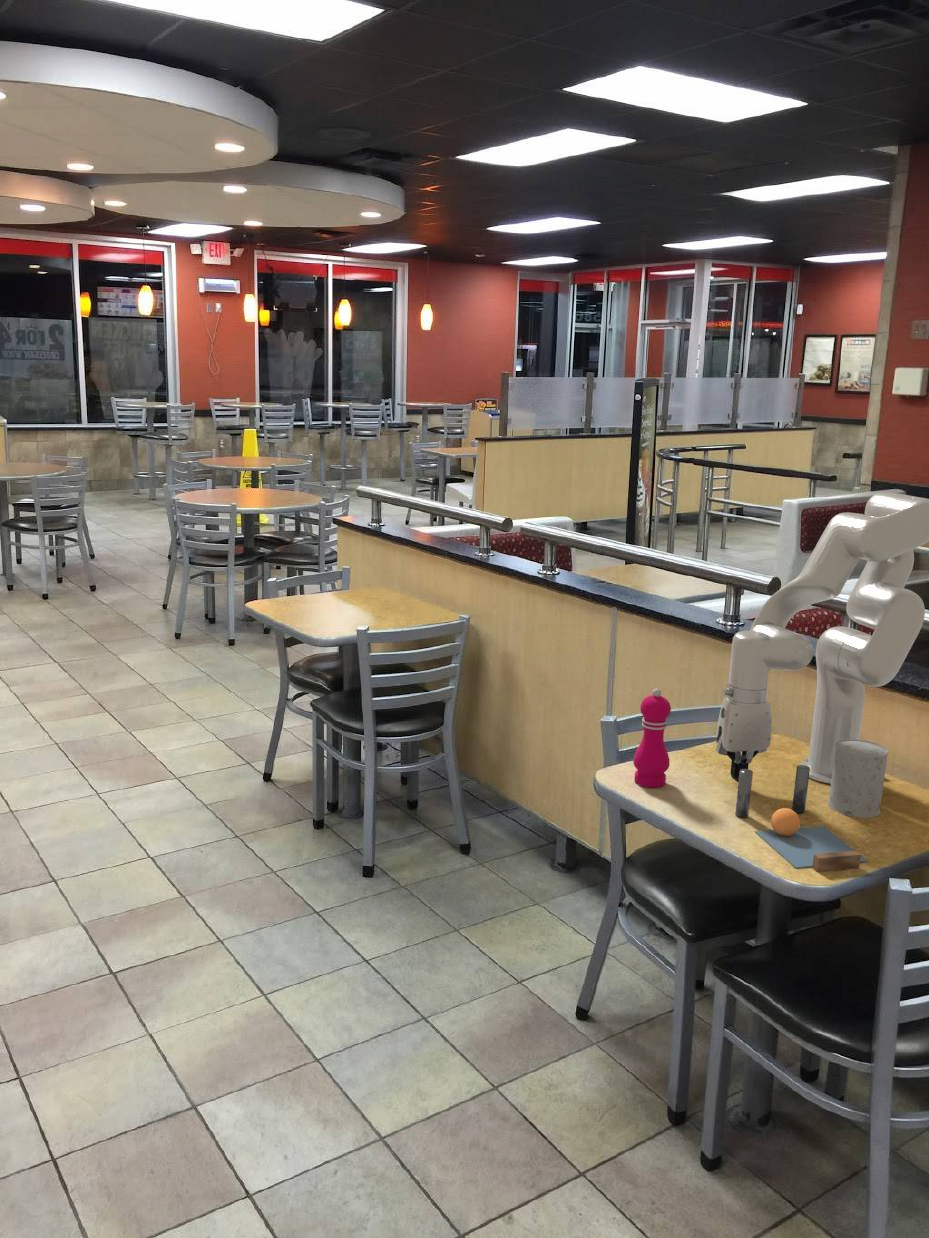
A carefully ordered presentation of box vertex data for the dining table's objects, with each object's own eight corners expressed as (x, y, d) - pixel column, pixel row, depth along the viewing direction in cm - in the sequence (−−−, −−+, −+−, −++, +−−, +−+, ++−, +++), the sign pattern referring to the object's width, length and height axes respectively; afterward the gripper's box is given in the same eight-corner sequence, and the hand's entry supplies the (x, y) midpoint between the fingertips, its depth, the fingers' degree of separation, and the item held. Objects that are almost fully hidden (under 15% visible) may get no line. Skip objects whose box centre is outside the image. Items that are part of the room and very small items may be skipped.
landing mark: (823, 826, 189) (823, 825, 189) (868, 861, 175) (868, 860, 175) (754, 832, 186) (755, 831, 186) (795, 868, 172) (795, 867, 172)
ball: (806, 821, 181) (799, 842, 184) (798, 803, 185) (791, 823, 188) (779, 820, 181) (772, 841, 183) (771, 801, 185) (764, 822, 188)
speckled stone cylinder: (853, 820, 192) (861, 759, 189) (817, 801, 200) (824, 742, 197) (891, 813, 195) (899, 753, 192) (854, 794, 204) (862, 736, 201)
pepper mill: (670, 789, 203) (678, 694, 199) (634, 788, 204) (641, 693, 199) (664, 775, 210) (672, 683, 206) (629, 774, 211) (636, 682, 206)
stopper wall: (853, 863, 175) (855, 850, 174) (859, 867, 173) (860, 854, 173) (812, 867, 173) (813, 854, 172) (817, 871, 171) (818, 858, 171)
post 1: (744, 812, 194) (748, 768, 192) (750, 817, 192) (755, 773, 189) (732, 813, 193) (737, 769, 191) (739, 818, 191) (743, 774, 189)
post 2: (800, 808, 196) (805, 764, 194) (807, 813, 194) (812, 769, 192) (789, 809, 196) (794, 765, 194) (795, 814, 194) (801, 770, 192)
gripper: (721, 701, 196) (712, 789, 200) (790, 697, 199) (781, 784, 204) (703, 689, 203) (696, 774, 208) (771, 686, 207) (762, 770, 211)
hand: (738, 779), depth 206 cm, fingers closed
